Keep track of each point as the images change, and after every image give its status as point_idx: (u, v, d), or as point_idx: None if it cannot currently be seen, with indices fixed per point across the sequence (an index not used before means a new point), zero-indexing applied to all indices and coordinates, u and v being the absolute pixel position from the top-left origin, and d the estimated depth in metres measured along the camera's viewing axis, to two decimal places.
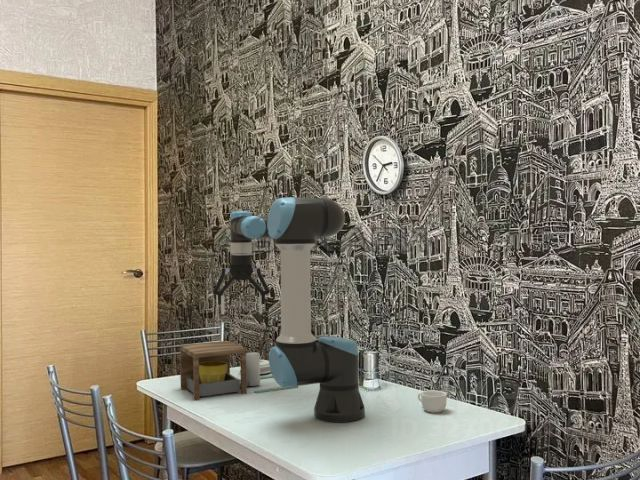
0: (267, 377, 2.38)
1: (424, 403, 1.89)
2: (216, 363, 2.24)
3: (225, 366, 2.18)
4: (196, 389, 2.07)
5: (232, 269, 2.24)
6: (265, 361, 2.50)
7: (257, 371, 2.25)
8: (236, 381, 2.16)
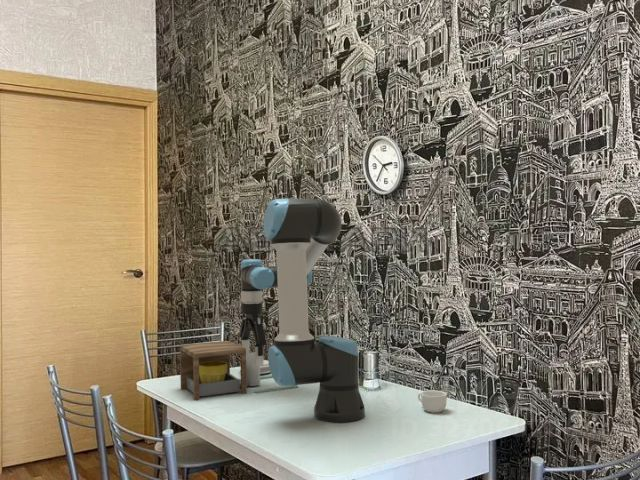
0: (267, 377, 2.38)
1: (424, 403, 1.89)
2: (216, 363, 2.24)
3: (225, 366, 2.18)
4: (196, 389, 2.07)
5: (246, 316, 2.28)
6: (265, 361, 2.50)
7: (257, 371, 2.25)
8: (236, 381, 2.16)
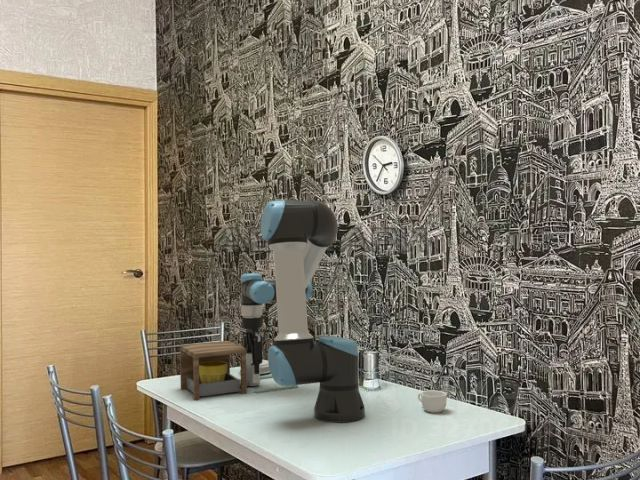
0: (267, 377, 2.38)
1: (424, 403, 1.89)
2: (216, 363, 2.24)
3: (225, 366, 2.18)
4: (196, 389, 2.07)
5: (246, 330, 2.29)
6: (265, 361, 2.50)
7: None
8: (236, 381, 2.16)
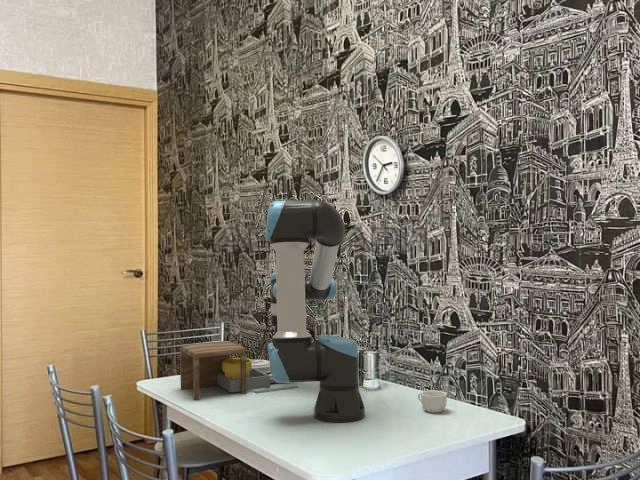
0: None
1: (424, 403, 1.89)
2: None
3: (249, 363, 2.21)
4: (196, 389, 2.07)
5: (275, 327, 2.34)
6: (265, 361, 2.50)
7: None
8: (267, 377, 2.21)
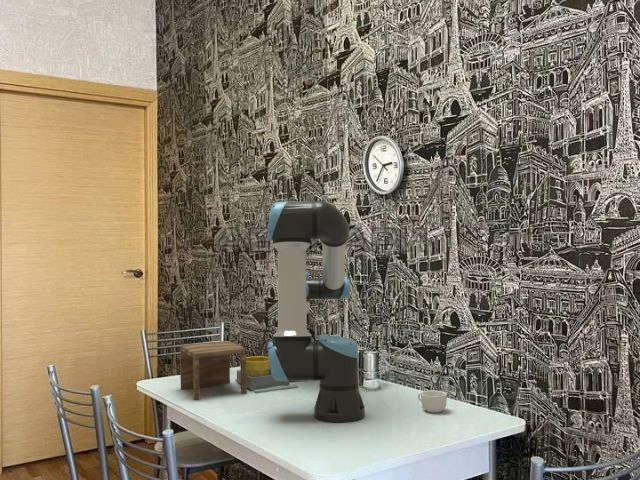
0: None
1: (424, 403, 1.89)
2: (262, 358, 2.31)
3: (268, 362, 2.24)
4: (196, 389, 2.07)
5: None
6: None
7: None
8: None
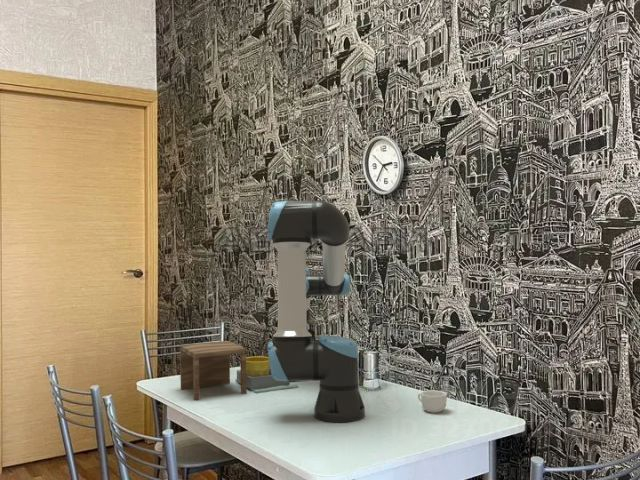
0: None
1: (424, 403, 1.89)
2: (262, 358, 2.31)
3: (268, 362, 2.24)
4: (196, 389, 2.07)
5: None
6: None
7: None
8: None
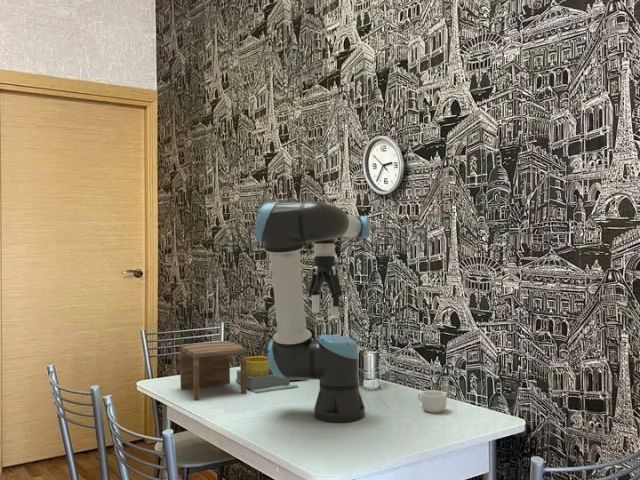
0: None
1: (424, 403, 1.89)
2: (262, 358, 2.31)
3: (268, 362, 2.24)
4: (196, 389, 2.07)
5: (317, 270, 2.30)
6: None
7: None
8: None
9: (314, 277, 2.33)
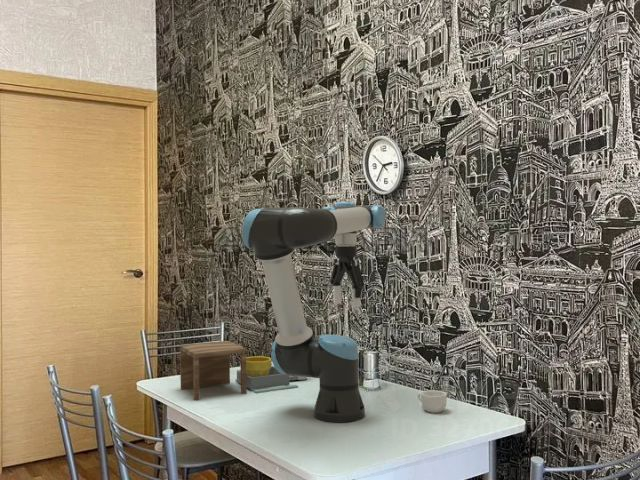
0: None
1: (424, 403, 1.89)
2: (262, 358, 2.31)
3: (268, 362, 2.24)
4: (196, 389, 2.07)
5: (339, 260, 2.25)
6: None
7: None
8: (286, 375, 2.24)
9: (336, 268, 2.28)
